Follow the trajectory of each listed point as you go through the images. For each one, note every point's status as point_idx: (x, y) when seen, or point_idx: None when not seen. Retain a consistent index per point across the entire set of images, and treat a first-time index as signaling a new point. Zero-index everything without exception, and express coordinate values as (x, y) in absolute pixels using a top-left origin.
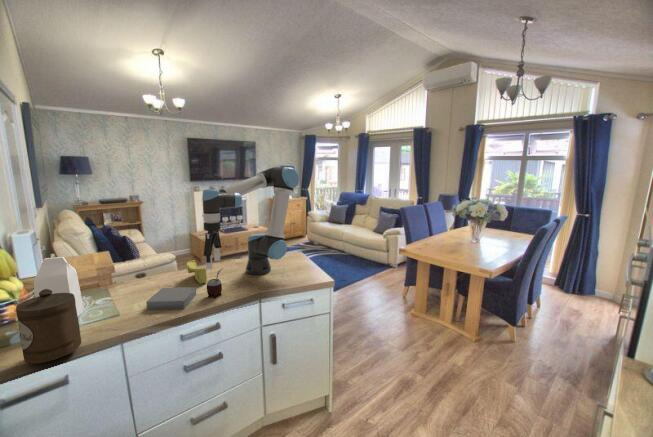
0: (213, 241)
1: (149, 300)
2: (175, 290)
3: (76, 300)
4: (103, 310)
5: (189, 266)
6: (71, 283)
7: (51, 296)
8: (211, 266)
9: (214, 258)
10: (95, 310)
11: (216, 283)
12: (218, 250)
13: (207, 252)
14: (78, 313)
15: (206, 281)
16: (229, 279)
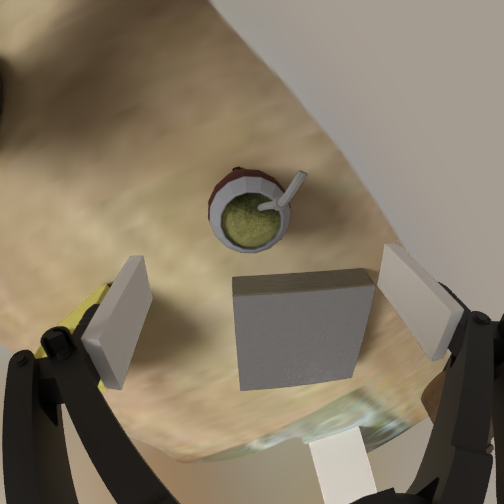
0: (490, 456)
1: (346, 375)
2: (269, 351)
3: (342, 459)
4: (322, 421)
5: (104, 387)
6: (360, 489)
7: (488, 442)
8: (405, 256)
9: (147, 311)
10: (318, 429)
11: (279, 196)
12: (110, 331)
13: (452, 369)
14: (338, 437)
15: (106, 284)
16: (48, 198)
